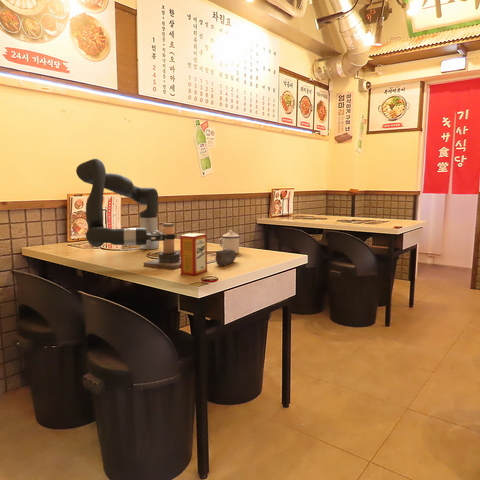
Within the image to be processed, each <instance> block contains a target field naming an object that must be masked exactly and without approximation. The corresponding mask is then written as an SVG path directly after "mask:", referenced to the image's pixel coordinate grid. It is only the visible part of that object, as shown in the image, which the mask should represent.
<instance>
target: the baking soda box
mask: <svg viewBox="0 0 480 480" xmlns="http://www.w3.org/2000/svg"><path fill="white" fill-rule="evenodd" d="M207 234H208V233H197V232H191V233H185V234H181V235H180V237H179V240H180V241H179V242H180V245H179V246H180V247H179V248H180V258H181V267H180V275H183V276H184V275H185V276H192V277H195V276H198V275H201V274H204V273H206V272H208V237H207V236H208V235H207Z"/></svg>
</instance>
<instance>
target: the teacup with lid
mask: <svg viewBox="0 0 480 480" xmlns="http://www.w3.org/2000/svg"><path fill="white" fill-rule="evenodd" d="M221 241H222V242H221ZM218 245H219V247H221V248H222V250H226V249H230V250H234V251H235V252H236V253H237V254H239V253H240V235H239V234H238V233H236V232H233V230H232V229H230V230H228V232H227V233H225V234H223V235H222V236H221V237H220V238H219V240H218Z"/></svg>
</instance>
